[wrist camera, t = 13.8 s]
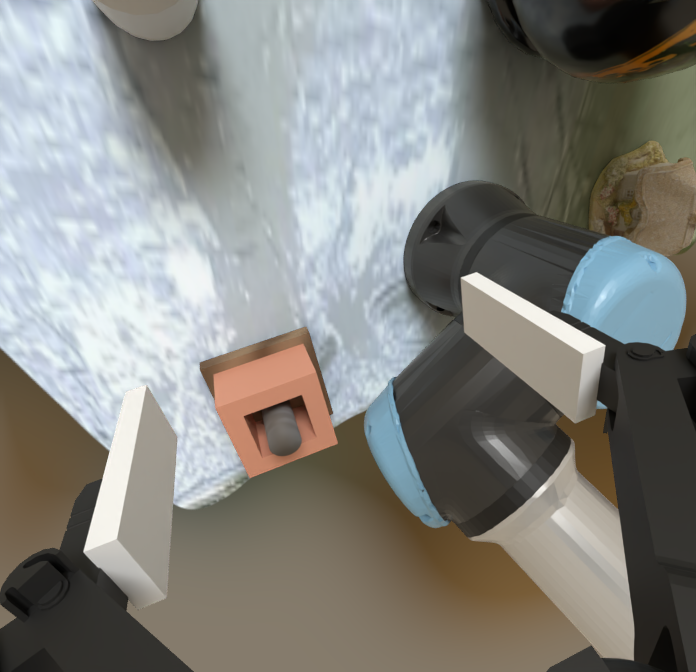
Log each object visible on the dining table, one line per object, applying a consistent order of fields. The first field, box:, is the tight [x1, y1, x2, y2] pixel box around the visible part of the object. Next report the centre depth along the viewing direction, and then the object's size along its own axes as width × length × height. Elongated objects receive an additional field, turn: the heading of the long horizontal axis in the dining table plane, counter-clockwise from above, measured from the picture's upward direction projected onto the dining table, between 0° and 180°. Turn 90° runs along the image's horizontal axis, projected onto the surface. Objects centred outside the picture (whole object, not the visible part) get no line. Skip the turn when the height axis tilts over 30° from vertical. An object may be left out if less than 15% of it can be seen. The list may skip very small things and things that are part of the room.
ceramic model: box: [589, 141, 696, 257], centre depth 48 cm, size 14×11×10 cm
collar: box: [213, 344, 338, 478], centre depth 45 cm, size 10×10×6 cm
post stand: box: [200, 327, 333, 456], centre depth 44 cm, size 12×12×10 cm
